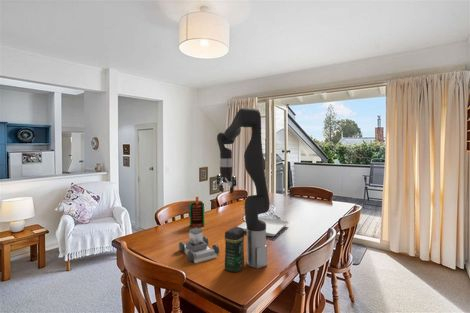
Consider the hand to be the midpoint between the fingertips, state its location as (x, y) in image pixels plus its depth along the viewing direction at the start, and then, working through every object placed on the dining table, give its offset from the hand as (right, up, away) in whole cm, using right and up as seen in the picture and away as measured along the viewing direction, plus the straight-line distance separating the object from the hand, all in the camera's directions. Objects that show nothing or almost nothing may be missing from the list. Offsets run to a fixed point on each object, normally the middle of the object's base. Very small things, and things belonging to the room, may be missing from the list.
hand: (226, 192), depth 153 cm
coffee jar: (+5, -30, -35) cm, 47 cm away
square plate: (+24, -28, +17) cm, 41 cm away
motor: (-22, -27, +26) cm, 43 cm away
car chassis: (-14, -29, -19) cm, 38 cm away
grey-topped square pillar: (-16, -28, -16) cm, 36 cm away
